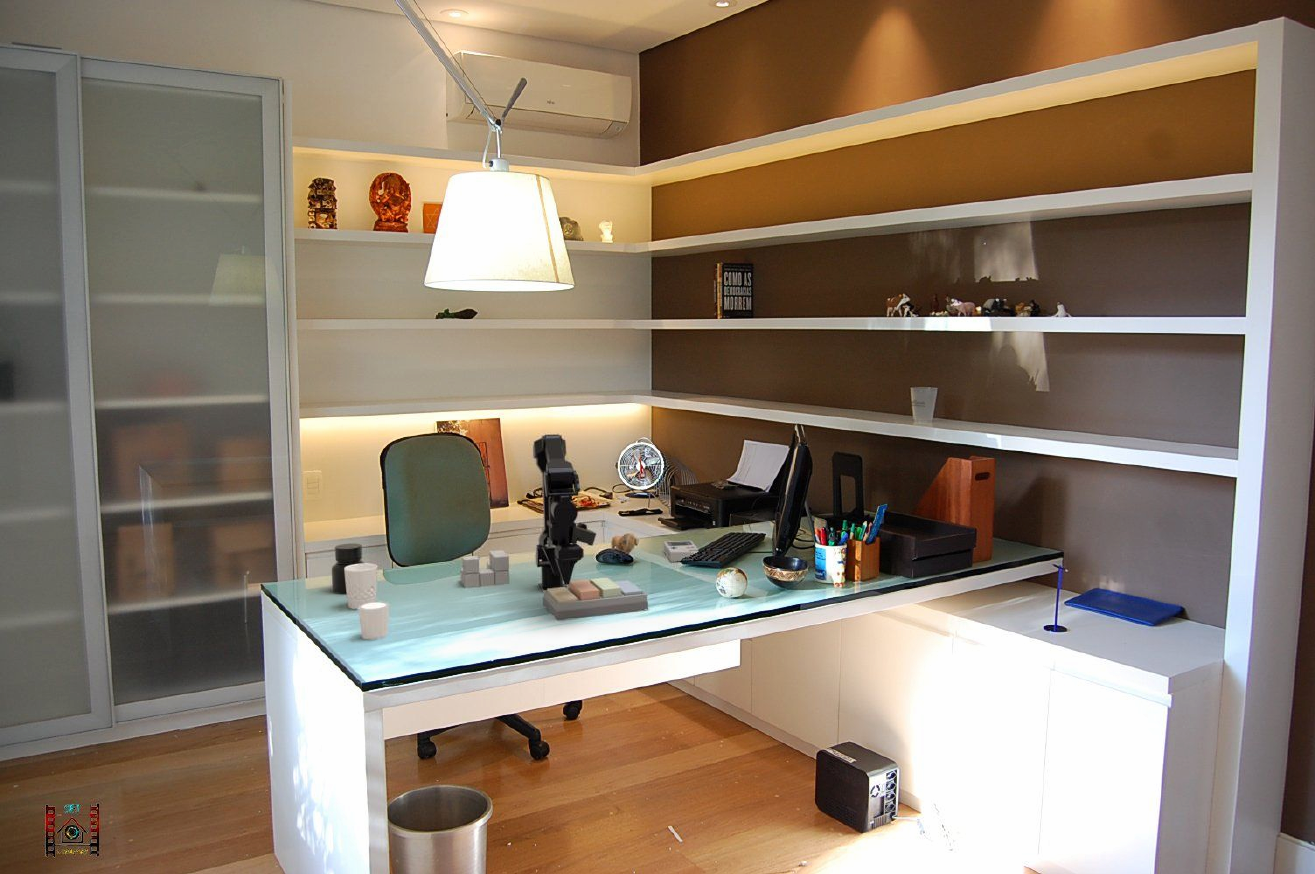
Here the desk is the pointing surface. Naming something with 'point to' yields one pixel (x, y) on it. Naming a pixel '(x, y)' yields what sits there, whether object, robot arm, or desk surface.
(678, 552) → the handheld gaming device
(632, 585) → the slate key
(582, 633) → the desk surface
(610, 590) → the sage key
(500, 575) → the grey stacked cubes
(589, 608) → the pastel key tray
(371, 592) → the white cup
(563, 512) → the robot arm
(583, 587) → the terracotta key
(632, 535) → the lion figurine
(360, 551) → the ink bottle
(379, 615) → the white cylinder
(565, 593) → the sand key
